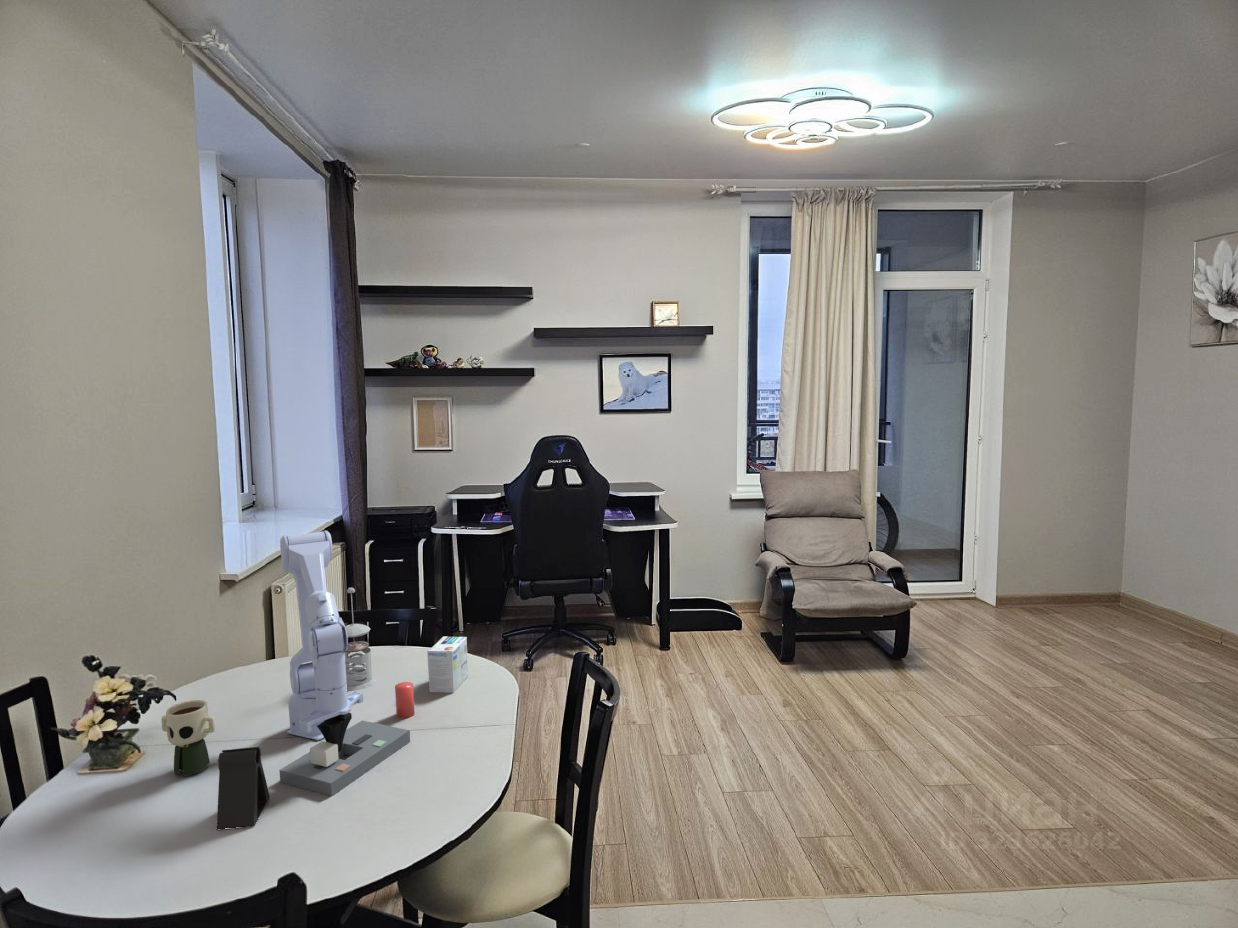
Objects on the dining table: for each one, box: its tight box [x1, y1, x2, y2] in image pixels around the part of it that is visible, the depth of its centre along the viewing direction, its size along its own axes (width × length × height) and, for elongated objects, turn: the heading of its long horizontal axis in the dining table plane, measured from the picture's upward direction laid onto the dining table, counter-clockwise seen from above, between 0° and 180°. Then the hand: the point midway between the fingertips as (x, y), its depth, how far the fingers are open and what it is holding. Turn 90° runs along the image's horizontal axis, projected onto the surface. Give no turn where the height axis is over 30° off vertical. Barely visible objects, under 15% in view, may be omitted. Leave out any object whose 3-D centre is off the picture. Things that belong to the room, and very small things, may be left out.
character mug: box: [161, 699, 216, 776], centre depth 142 cm, size 11×7×13 cm, turn 85°
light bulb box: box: [427, 636, 469, 694], centre depth 182 cm, size 11×7×11 cm, turn 172°
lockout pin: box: [394, 681, 416, 720], centre depth 165 cm, size 4×4×7 cm
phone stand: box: [216, 746, 271, 830], centre depth 127 cm, size 9×6×12 cm, turn 10°
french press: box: [343, 587, 378, 692], centre depth 183 cm, size 10×12×25 cm
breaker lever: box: [309, 740, 340, 767], centre depth 139 cm, size 4×3×3 cm
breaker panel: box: [279, 720, 411, 797], centre depth 145 cm, size 13×22×3 cm, turn 157°
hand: (335, 750), depth 142 cm, fingers closed
